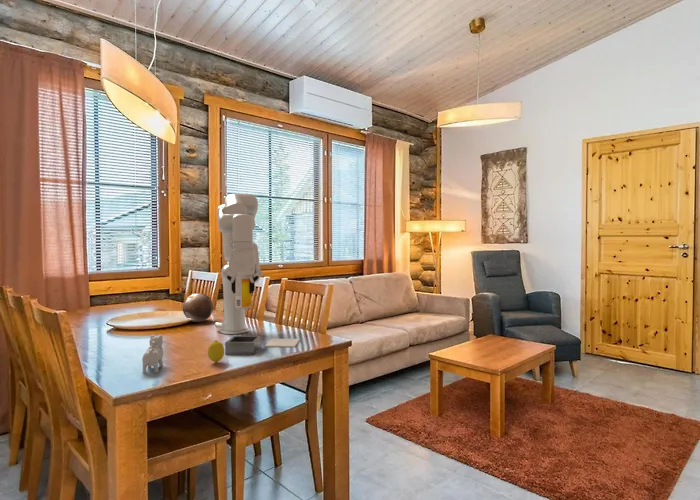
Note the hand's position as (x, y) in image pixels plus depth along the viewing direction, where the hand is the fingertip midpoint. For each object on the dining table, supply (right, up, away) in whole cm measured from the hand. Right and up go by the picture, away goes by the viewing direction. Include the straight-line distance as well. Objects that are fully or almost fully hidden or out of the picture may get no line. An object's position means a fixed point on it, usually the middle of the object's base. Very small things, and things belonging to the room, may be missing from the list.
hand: (243, 292), depth 173 cm
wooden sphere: (-37, -21, +59) cm, 73 cm away
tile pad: (+14, -22, +12) cm, 29 cm away
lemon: (-6, -23, -16) cm, 29 cm away
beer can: (0, -6, 0) cm, 6 cm away
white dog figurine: (-25, -24, -23) cm, 41 cm away
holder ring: (0, -23, 0) cm, 23 cm away
